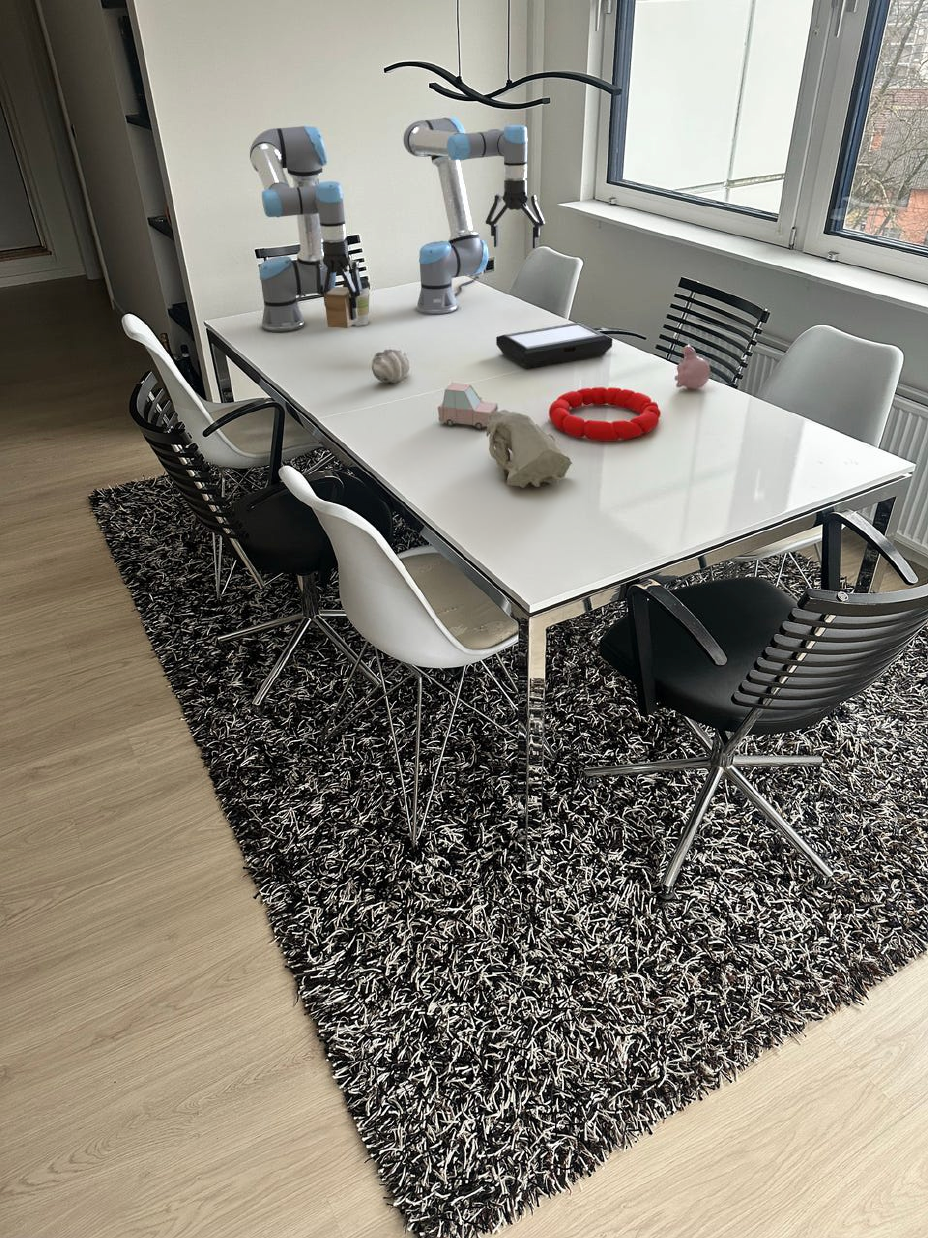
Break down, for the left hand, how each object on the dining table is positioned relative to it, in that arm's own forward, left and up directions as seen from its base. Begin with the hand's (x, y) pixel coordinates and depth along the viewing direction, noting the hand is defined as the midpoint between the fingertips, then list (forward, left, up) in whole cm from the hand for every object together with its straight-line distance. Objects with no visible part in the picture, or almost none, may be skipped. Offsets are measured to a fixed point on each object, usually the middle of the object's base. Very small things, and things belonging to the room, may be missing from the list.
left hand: (342, 317), depth 278 cm
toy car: (+56, +30, -16) cm, 65 cm away
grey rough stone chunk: (+88, +37, -16) cm, 97 cm away
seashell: (+18, +13, -16) cm, 27 cm away
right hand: (-32, +63, +10) cm, 71 cm away
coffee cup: (-48, +8, -16) cm, 51 cm away
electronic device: (+5, +67, -16) cm, 69 cm away
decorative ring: (+64, +66, -16) cm, 93 cm away
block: (0, 0, -2) cm, 2 cm away
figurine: (+46, +98, -16) cm, 109 cm away
